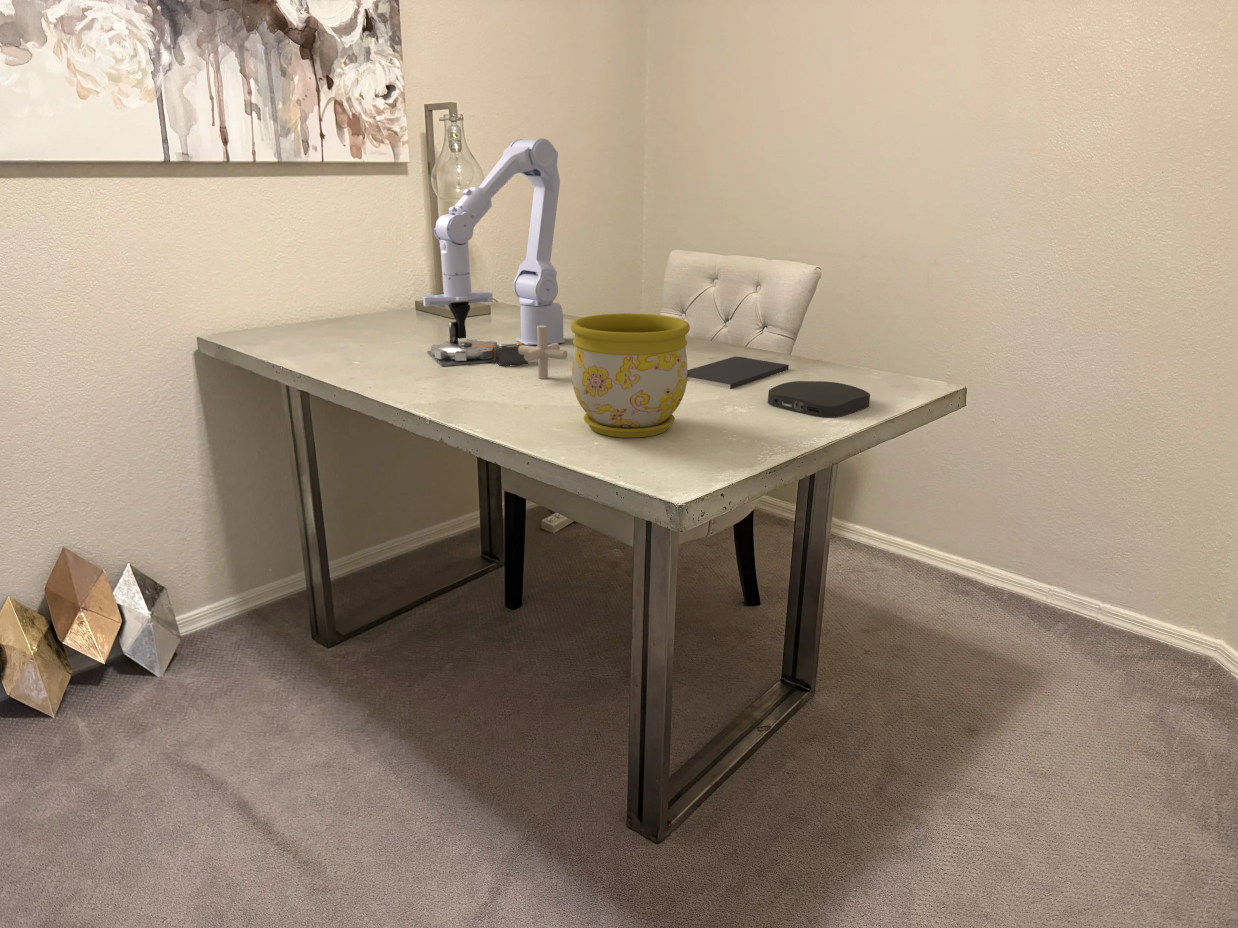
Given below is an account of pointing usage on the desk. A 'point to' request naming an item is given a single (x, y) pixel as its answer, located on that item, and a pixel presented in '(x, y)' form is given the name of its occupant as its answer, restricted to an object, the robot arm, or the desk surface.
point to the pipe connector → (542, 352)
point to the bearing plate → (453, 361)
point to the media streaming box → (818, 398)
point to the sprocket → (463, 347)
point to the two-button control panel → (509, 355)
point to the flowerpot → (629, 372)
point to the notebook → (734, 372)
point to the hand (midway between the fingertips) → (460, 337)
